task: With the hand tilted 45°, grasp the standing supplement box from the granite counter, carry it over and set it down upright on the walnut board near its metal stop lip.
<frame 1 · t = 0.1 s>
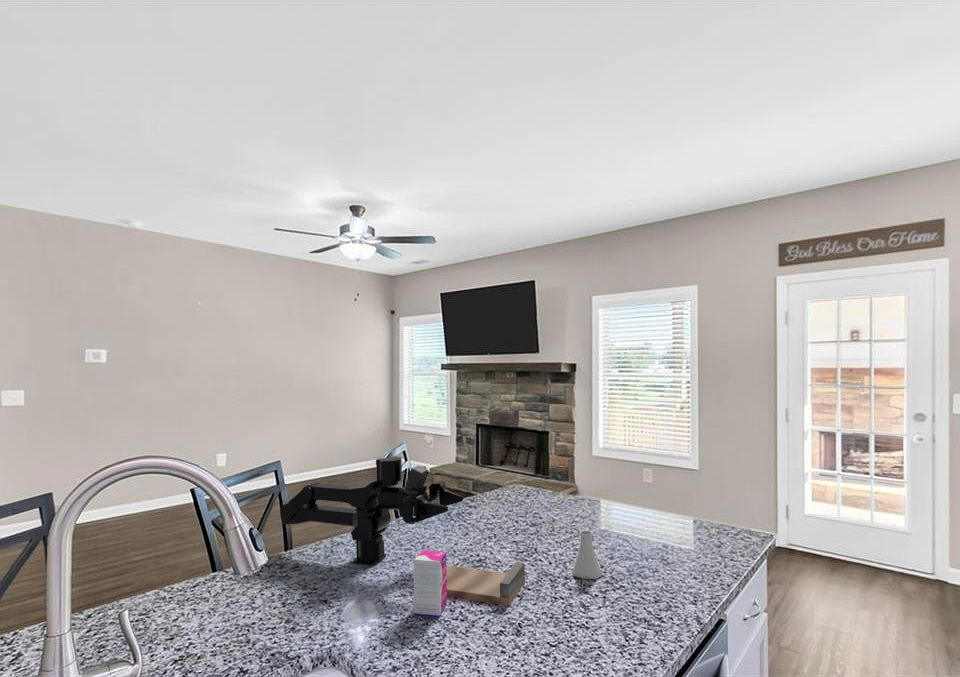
hand: (455, 503, 129), 17 cm above the worktop, tool horizontal, fingers open, 9 cm apart
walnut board: (475, 587, 119), on the worktop
flask: (587, 574, 125), on the worktop
supplement box: (431, 611, 108), on the worktop
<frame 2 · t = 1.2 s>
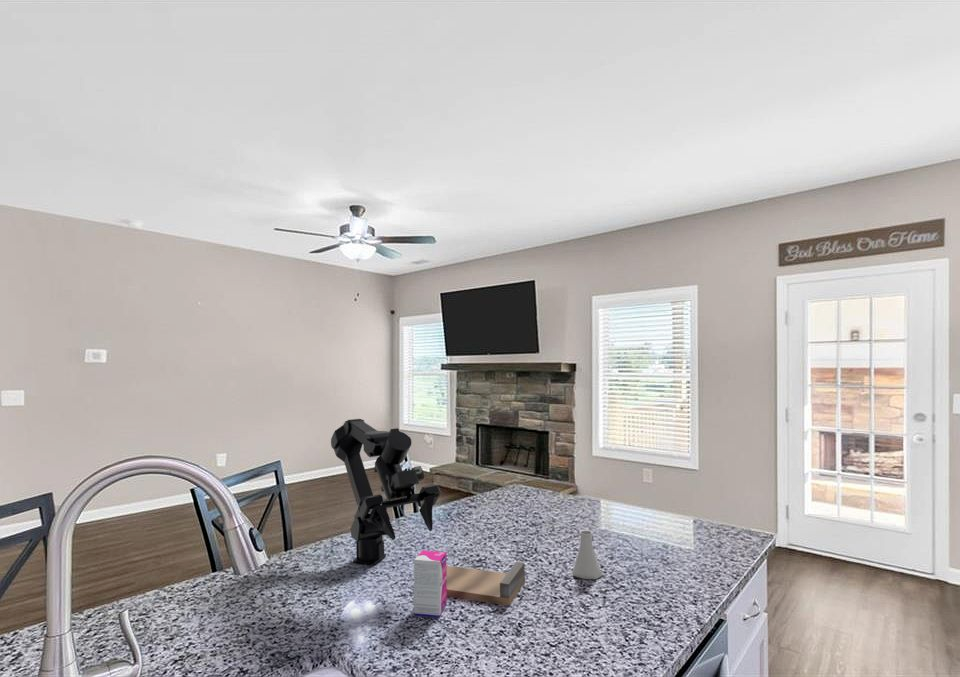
hand: (413, 534, 116), 14 cm above the worktop, tool tilted 45°, fingers open, 9 cm apart
nothing on the worktop moved.
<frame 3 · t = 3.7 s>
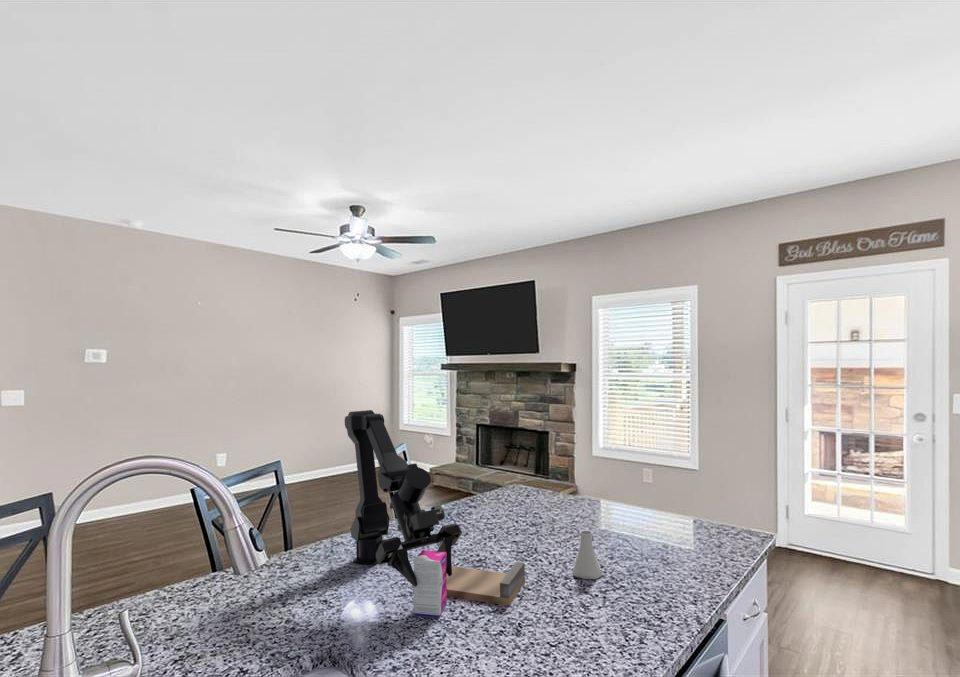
hand: (433, 580, 108), 7 cm above the worktop, tool tilted 45°, fingers closed on supplement box, 8 cm apart
supplement box: (431, 611, 108), on the worktop, touching gripper
everything else where it was.
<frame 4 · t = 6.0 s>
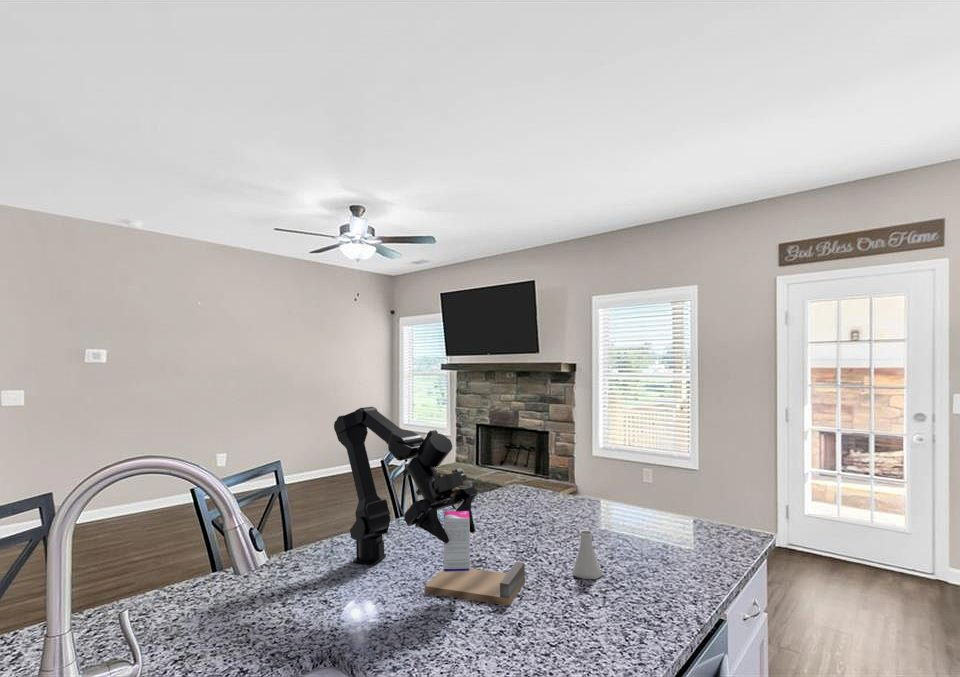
hand: (461, 537, 114), 13 cm above the worktop, tool tilted 45°, fingers closed on supplement box, 8 cm apart
supplement box: (457, 567, 115), point 6 cm above the worktop, touching gripper
everything else where it was.
when the fingers open (9 cm above the worktop, at t = 8.1 s): supplement box drops 1 cm, resting on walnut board.
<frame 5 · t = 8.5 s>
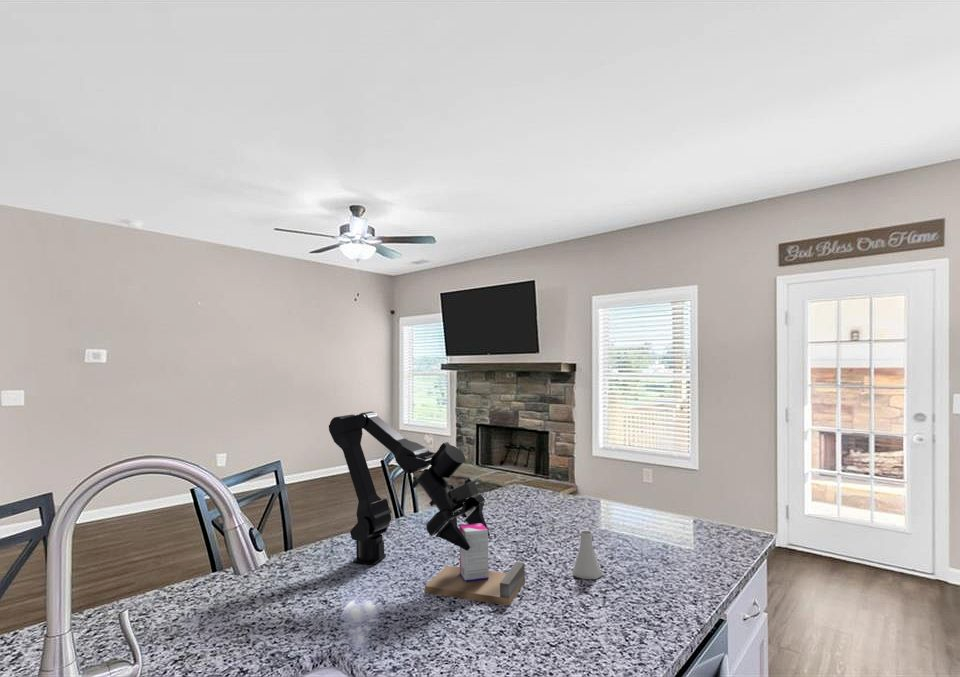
hand: (479, 542, 121), 10 cm above the worktop, tool tilted 45°, fingers open, 9 cm apart
supplement box: (474, 577, 121), point 1 cm above the worktop, touching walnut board
everything else where it was.
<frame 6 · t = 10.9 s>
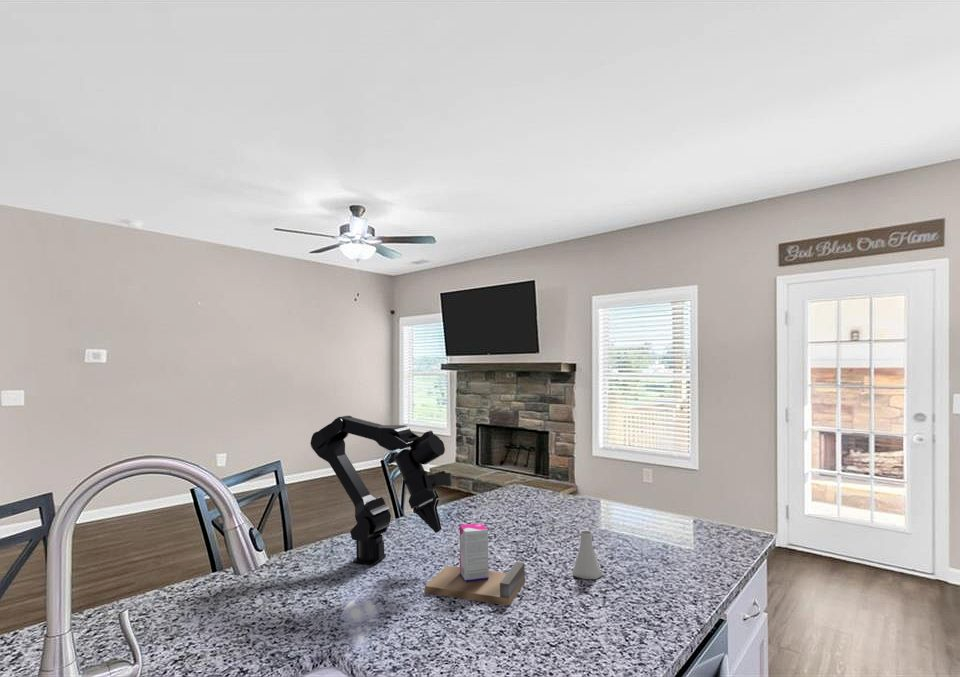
hand: (438, 531, 127), 11 cm above the worktop, tool tilted 30°, fingers open, 9 cm apart
nothing on the worktop moved.
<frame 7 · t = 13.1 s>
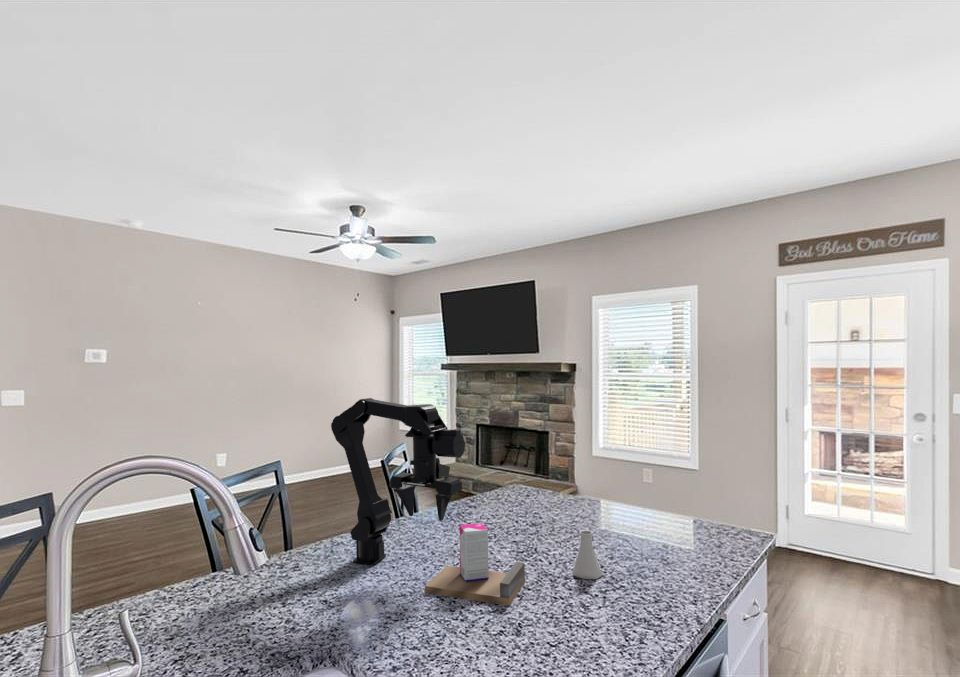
hand: (426, 518, 129), 13 cm above the worktop, tool pointing down, fingers open, 9 cm apart
nothing on the worktop moved.
at the end: supplement box inside the target area on the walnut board (2.2 cm from its centre), point 1.3 cm above the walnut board's base; supplement box tilted 0°; the gripper is holding nothing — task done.
